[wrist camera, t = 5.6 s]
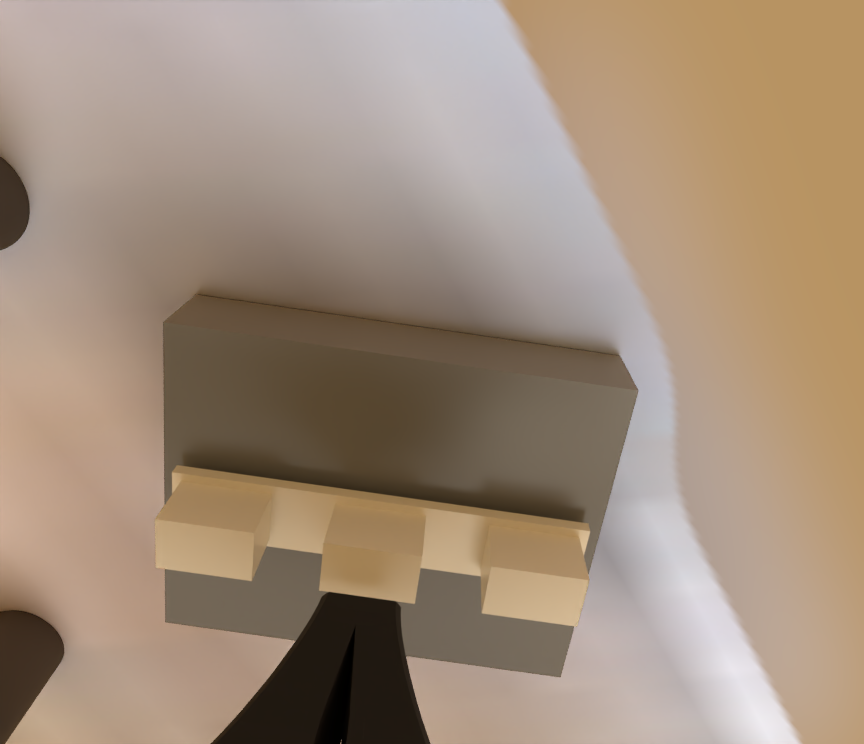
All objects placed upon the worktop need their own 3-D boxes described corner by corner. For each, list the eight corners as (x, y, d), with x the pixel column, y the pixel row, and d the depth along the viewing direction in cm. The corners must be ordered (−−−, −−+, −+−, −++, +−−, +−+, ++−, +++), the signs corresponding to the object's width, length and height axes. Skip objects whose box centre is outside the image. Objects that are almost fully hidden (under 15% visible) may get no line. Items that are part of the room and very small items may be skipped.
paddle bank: (573, 580, 17) (584, 635, 15) (176, 525, 17) (146, 574, 15) (588, 523, 16) (601, 573, 15) (177, 465, 16) (144, 509, 15)
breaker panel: (552, 621, 20) (560, 677, 18) (193, 571, 20) (165, 622, 18) (620, 355, 17) (637, 390, 15) (196, 294, 17) (163, 322, 15)
